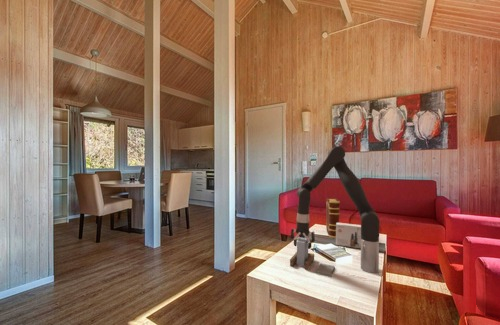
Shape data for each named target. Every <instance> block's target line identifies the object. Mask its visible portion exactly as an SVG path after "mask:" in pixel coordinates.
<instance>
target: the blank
mask: <svg viewBox="0 0 500 325" xmlns="http://www.w3.org/2000/svg"><path fill="white" fill-rule="evenodd" d="M308 243H309V242H308V240H307V239H306V238H302V237H299V239H297V246H296V252H297V262H296V266H298V267H304V268H305V262H306V261H307V259H308V253H309V249H308Z"/></svg>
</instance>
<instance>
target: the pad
mask: <svg viewBox="0 0 500 325" xmlns="http://www.w3.org/2000/svg"><path fill="white" fill-rule="evenodd" d="M334 270H335V265H331V264H326V263H323V262H320V263H319V265H318V266H317V268H316V270H315V274H319V275H324V276H327V277H332V274H333V272H334Z"/></svg>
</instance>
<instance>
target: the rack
mask: <svg viewBox="0 0 500 325" xmlns="http://www.w3.org/2000/svg"><path fill="white" fill-rule="evenodd" d="M314 261H315V253H311V252H308V259H307V261H306V262H305V266H304V270H306V271H308V270H309V269H310V267H311V266H312V264H313V263H314ZM295 264H297V251H296V252H295V253H294V254H293V255H292V257H290V259H289V266H290V267H291V268H292V267H294V265H295Z"/></svg>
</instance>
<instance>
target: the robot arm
mask: <svg viewBox="0 0 500 325" xmlns="http://www.w3.org/2000/svg"><path fill="white" fill-rule="evenodd" d="M345 156H346V150H345V149H344V147H342V146H340V145H339V146H338V145H336V146H333V147H332V148H330V150H329V151H328V152H327V156H326V157H325V159H324V161H323V162H322V164H321V165H319V166H318V167H317V168H316V170H314V172H313V173H312V174H311V175H310V176H309V178H307V180H306V181H305V182H304V183H303V184H301V186H299V188H298V189H297V191H296V195H297V197H298V204H297V211H296V212H297V213H296V214H297V215H296V229H295V227H293V228H292V229H291V231H290V239H291V240H293V246H294V247H297V241H298V238H301V237H302V238H306V239H307V240H308V250H311V248H312V243H315V241H316V240H315V238H316V237H315V231H310V204H311V192H312V191H313V190H315V189H317V188H318V186H320V184H321V183H322V182H323V180H325V178H326V176H327V175H328V174H329V173H330V172H331V170H332V169H333V168H334V169H335V171H336V173H337V176H338V177H339V178H338V179H340V182H341V184H342V186H343V188H344V190H345V192H346V194H347V196H348V197H349V199H351V201H352V203H353V204H354V205H355V207H356V208H357V211H358V213H359V218H360V225H361V248H360V269H361V270H362V271H364V272H367V273H372V274H373V273H374V274H379V272H380V270H379V267H380V262H379V260H380V257H379V256H380V254H379V252H380V251H379V248H380V247H379V246H380V245H379V244H380V218H379V216H378V214H377V212H376V211H375V210H374V208H373V207H372V206H371V204H370V202H369V201H368V197H367V195H366V193H365V190H364V187H363V186H362V183H361V182H360V181H359V179H358V176H356V175H355V173H354V172H353V171H352V170H351V169H350V168H349V166H348V164H347V162H346V160H345ZM295 232H296V235H295ZM310 236H311V237H310Z"/></svg>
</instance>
